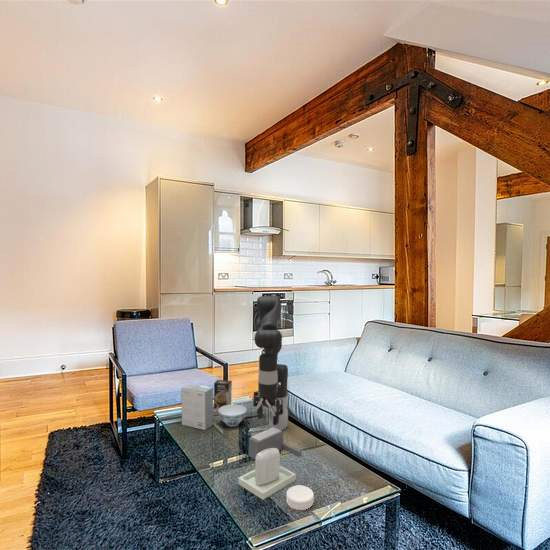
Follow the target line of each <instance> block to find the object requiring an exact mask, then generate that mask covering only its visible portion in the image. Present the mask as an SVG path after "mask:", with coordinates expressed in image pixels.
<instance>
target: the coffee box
mask: <svg viewBox="0 0 550 550" xmlns="http://www.w3.org/2000/svg"><path fill="white" fill-rule="evenodd" d="M213 384H214V385H213V411H218V410H219V408H220V407H222V406H225V405H231V404H232V390H233V389H232V385H233V384H232V380H226V379H225V380H224V379H223V380H222V379H217V380H216V381H215V382H214V383H213Z"/></svg>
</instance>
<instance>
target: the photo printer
mask: <svg viewBox="0 0 550 550" xmlns="http://www.w3.org/2000/svg"><path fill="white" fill-rule="evenodd" d="M280 459H281V456H280V450H278V449H277V448H269V449H265V450H263V451H261V452H259V453H258V454H257V455H256V458H255V459H254V460H255V461H254V462H255V467H254V469H255V481H256V484H257V485H263V484H266V483H269V482H272V481H274V480H277V479H279V466H281V464H280Z"/></svg>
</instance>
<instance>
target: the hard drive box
mask: <svg viewBox="0 0 550 550" xmlns="http://www.w3.org/2000/svg"><path fill="white" fill-rule="evenodd" d="M180 389H181V426H187V427H189V428H190V427H191V428H194V429H199V430H203V431H206V430H207V429H210V428H211V427H212V426H213V425H214V387H211V386H206V385H205V386H204V385H200V384H199V385H198V384H194V383H193V384H192V383H189V384H186V385H185V386H183V387H181V388H180Z"/></svg>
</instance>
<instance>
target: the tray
mask: <svg viewBox="0 0 550 550" xmlns="http://www.w3.org/2000/svg"><path fill="white" fill-rule="evenodd" d="M296 478H297V474H296V473H294V472H293V471H290V470H289V469H287V468H285V467H283V466H282V465H280V466H279V479H277V480H274V481H272V482H269V483H266V484H263V485H257V484H256V481H255V468H254V469H252V470H250V471H249V472H247V473H245V474H243V475H241V476H239V477H238V478H237V484H238V485H239V486H241V487H242V488H244V489H246V491H248V492H250V493H252V494H253V495H254V496H256V497H258V498H259V499H260V500H262V501H264V500H266V499H267V498H269V497H270V496H272V495H274V494H276V493H277V492H279V491H280V490H283V488H285V487H287V486H288V485H290V484H292V483H293V482H295V481H296V480H297V479H296Z"/></svg>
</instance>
